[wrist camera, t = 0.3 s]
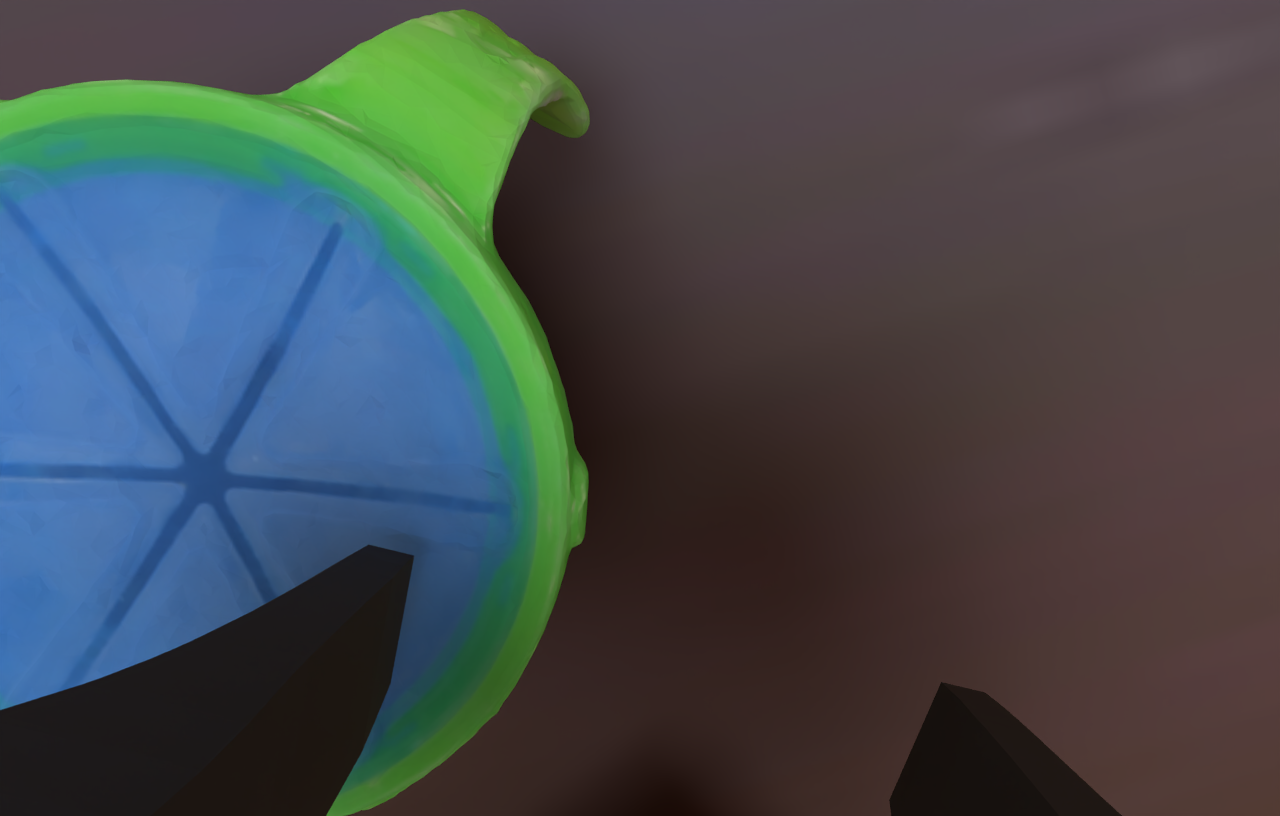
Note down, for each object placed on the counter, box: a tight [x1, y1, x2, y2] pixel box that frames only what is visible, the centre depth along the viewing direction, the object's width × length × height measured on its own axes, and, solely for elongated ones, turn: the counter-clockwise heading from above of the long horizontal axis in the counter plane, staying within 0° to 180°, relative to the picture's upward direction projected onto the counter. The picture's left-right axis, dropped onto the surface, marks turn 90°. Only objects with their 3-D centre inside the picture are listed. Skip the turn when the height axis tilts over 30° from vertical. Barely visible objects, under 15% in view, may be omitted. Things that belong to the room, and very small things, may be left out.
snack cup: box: [0, 9, 590, 816], centre depth 16 cm, size 16×10×10 cm
